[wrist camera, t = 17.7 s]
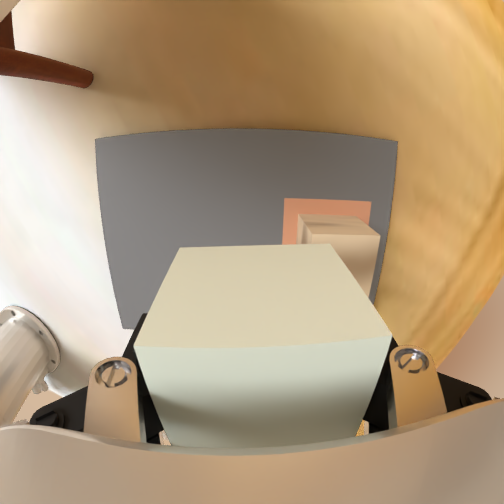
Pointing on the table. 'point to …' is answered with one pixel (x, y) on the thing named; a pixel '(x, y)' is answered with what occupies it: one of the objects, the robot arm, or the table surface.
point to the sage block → (261, 347)
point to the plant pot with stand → (33, 58)
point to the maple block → (343, 242)
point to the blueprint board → (229, 196)
